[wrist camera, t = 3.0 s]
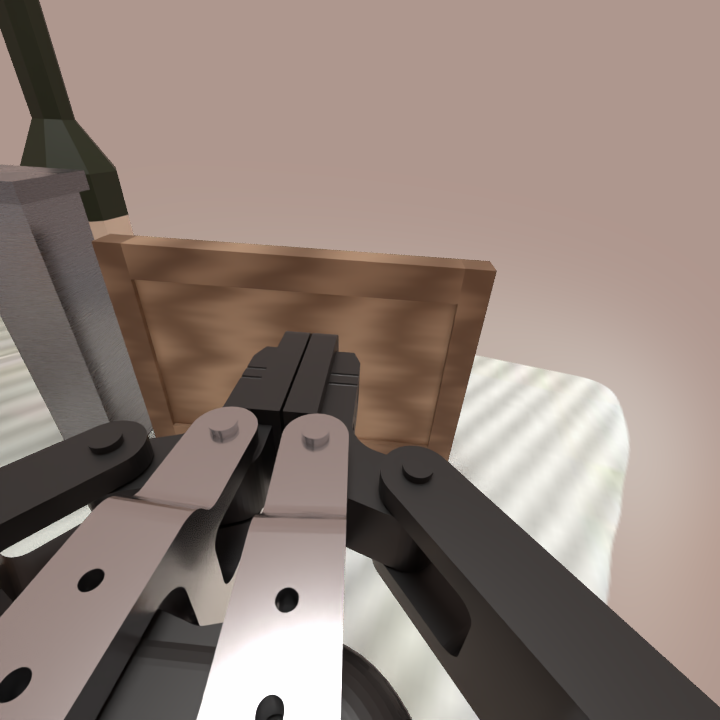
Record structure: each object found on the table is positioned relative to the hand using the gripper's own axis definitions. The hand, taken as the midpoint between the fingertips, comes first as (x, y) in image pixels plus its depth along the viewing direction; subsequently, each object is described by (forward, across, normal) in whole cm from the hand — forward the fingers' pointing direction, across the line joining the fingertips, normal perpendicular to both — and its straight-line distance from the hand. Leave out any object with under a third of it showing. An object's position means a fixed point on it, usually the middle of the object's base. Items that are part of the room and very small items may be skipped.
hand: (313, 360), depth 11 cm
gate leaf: (+11, +3, +15) cm, 19 cm away
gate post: (+11, +18, +16) cm, 26 cm away
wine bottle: (+30, +29, +16) cm, 45 cm away
